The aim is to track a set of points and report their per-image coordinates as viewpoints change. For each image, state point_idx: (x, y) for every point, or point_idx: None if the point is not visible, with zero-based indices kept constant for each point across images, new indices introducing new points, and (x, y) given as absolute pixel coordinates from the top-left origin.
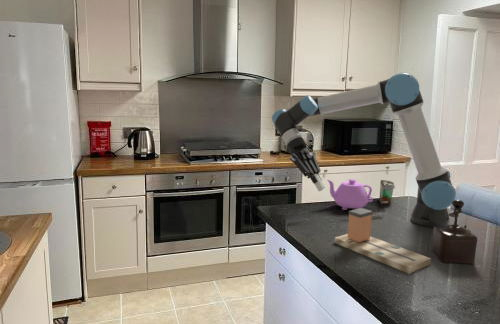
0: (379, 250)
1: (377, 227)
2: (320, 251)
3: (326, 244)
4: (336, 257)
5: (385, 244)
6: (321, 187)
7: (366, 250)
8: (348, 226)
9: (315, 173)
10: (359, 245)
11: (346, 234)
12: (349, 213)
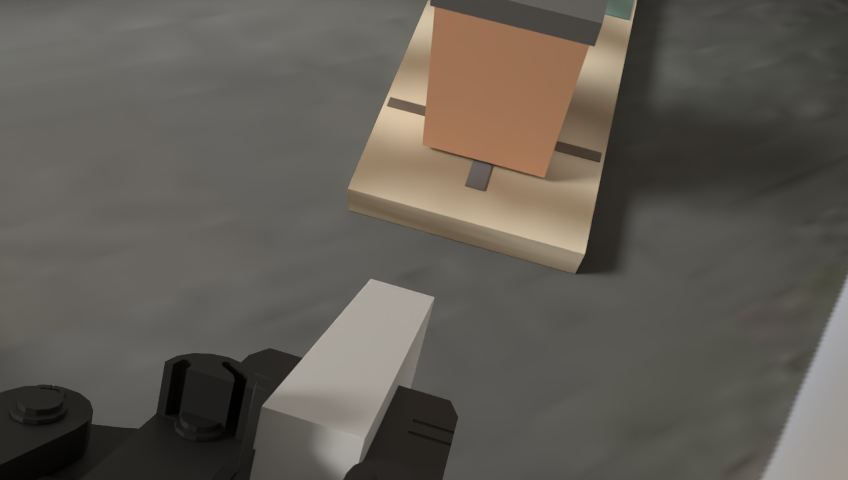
0: None
1: (66, 153)
2: (776, 287)
3: (642, 305)
4: (766, 183)
5: None
6: (428, 318)
7: (624, 55)
8: (563, 120)
9: (241, 471)
10: (589, 98)
11: (463, 216)
12: (597, 36)
